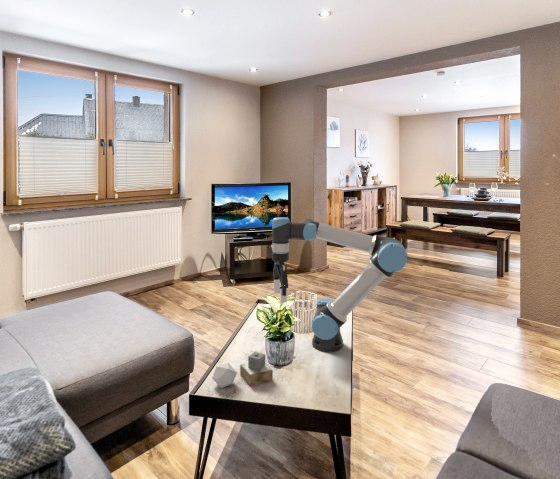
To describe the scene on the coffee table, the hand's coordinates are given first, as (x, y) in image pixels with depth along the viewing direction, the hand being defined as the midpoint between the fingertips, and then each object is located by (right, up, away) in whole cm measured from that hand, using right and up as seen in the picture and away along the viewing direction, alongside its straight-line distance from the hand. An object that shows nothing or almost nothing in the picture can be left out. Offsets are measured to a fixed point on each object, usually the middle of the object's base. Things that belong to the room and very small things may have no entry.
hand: (279, 297), depth 182 cm
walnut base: (-10, -31, -19) cm, 37 cm away
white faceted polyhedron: (-22, -31, -24) cm, 45 cm away
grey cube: (-9, -26, -20) cm, 34 cm away
